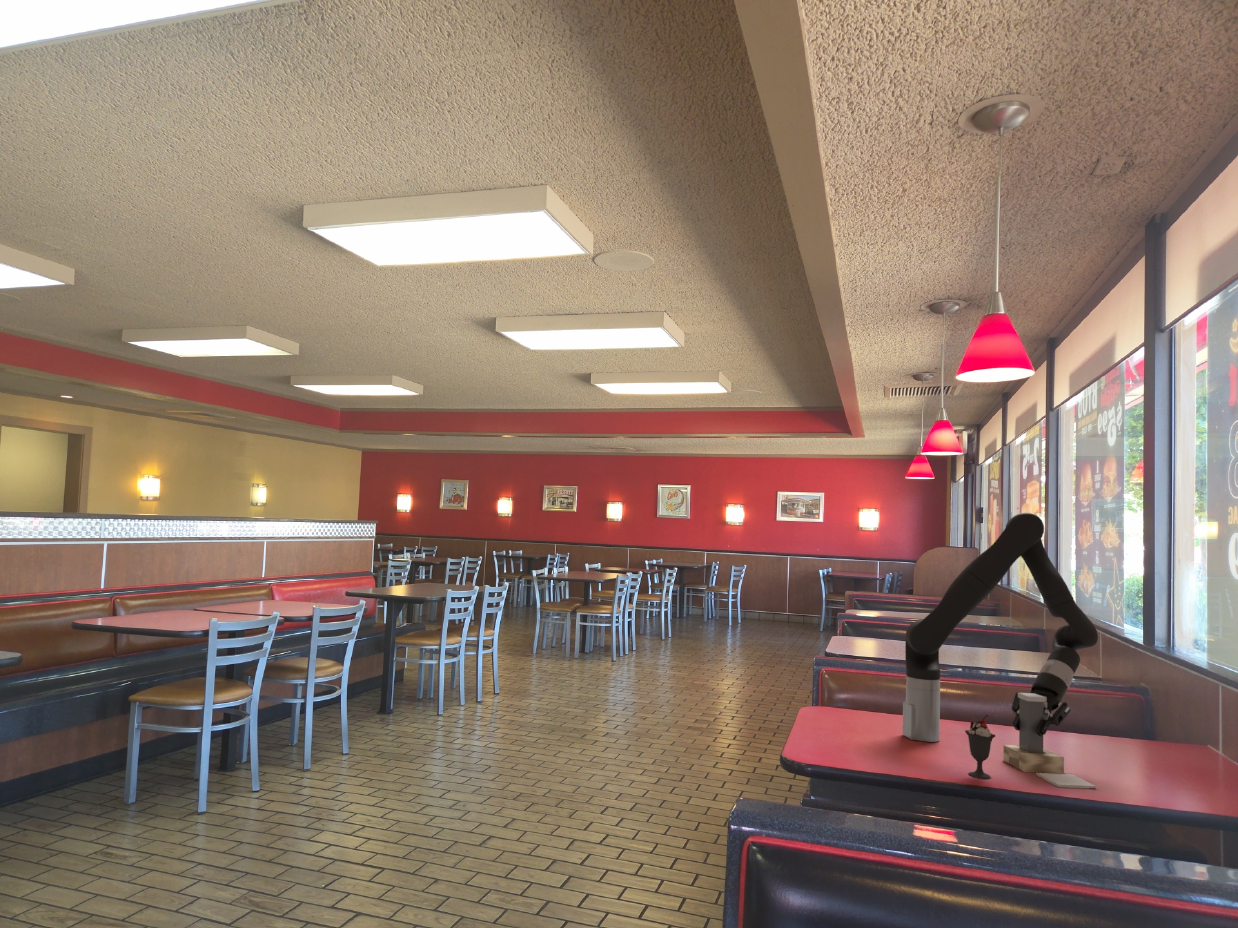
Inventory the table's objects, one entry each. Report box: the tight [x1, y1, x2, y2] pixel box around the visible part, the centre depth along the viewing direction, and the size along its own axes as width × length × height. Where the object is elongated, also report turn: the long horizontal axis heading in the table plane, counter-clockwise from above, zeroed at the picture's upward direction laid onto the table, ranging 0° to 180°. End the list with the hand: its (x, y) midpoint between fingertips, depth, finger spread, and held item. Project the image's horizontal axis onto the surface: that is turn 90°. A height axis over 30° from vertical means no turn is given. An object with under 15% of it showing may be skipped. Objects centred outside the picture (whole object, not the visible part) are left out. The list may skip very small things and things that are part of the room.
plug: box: [1018, 692, 1045, 754], centre depth 199 cm, size 5×5×17 cm
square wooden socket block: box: [1003, 744, 1065, 774], centre depth 198 cm, size 10×10×4 cm
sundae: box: [964, 714, 996, 780], centre depth 188 cm, size 7×7×15 cm
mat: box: [1035, 772, 1097, 789], centre depth 186 cm, size 9×9×1 cm
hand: (1027, 730), depth 198 cm, fingers closed on plug, 5 cm apart
